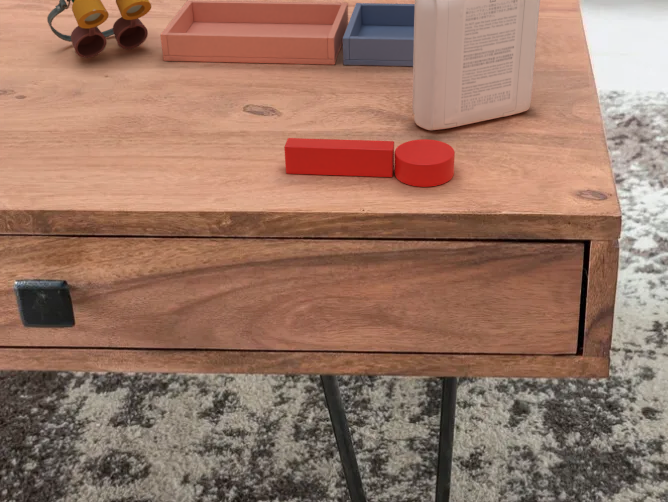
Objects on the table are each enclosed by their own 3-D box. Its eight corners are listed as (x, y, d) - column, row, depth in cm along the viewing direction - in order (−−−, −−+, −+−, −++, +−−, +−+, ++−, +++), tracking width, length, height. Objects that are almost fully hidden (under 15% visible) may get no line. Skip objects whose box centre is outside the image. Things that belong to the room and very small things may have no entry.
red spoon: (282, 182, 77) (280, 154, 76) (292, 156, 81) (290, 129, 80) (452, 188, 76) (453, 160, 75) (455, 161, 80) (456, 134, 78)
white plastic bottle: (510, 95, 90) (520, -56, 83) (538, 112, 87) (552, -43, 79) (404, 118, 86) (405, -37, 79) (429, 137, 83) (433, -23, 76)
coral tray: (163, 60, 98) (159, 34, 97) (190, 25, 107) (187, 0, 105) (334, 64, 97) (333, 37, 95) (348, 28, 105) (347, 2, 103)
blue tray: (343, 64, 97) (342, 38, 95) (356, 28, 105) (355, 2, 103) (521, 69, 95) (523, 41, 93) (520, 31, 103) (522, 5, 101)
